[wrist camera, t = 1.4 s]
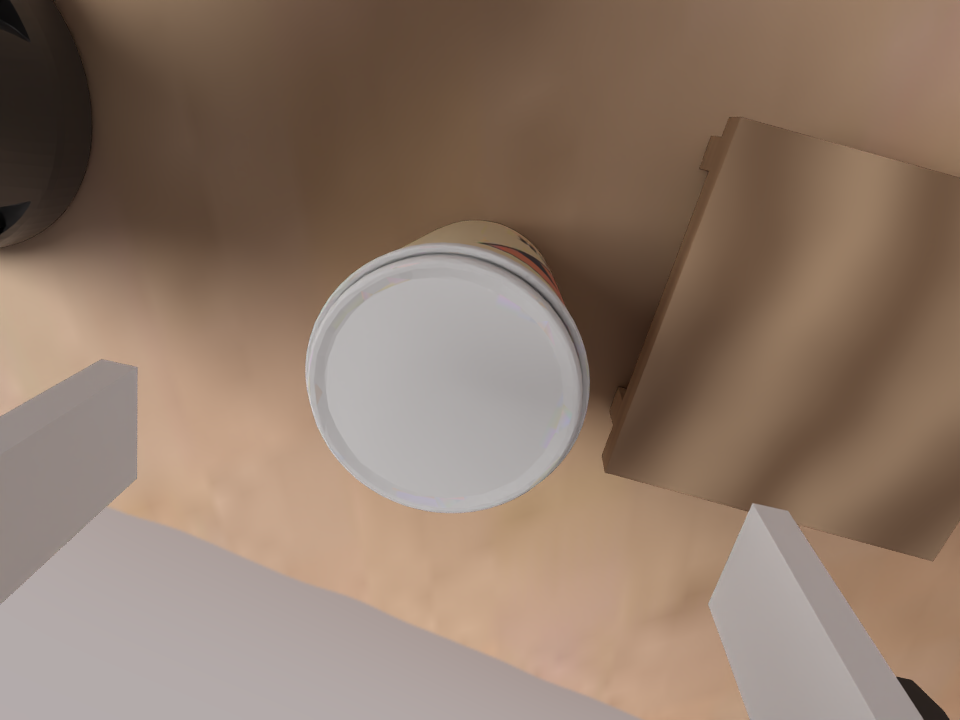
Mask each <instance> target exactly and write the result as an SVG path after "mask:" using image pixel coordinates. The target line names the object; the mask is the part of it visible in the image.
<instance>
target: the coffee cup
mask: <svg viewBox="0 0 960 720" xmlns="http://www.w3.org/2000/svg"><path fill="white" fill-rule="evenodd" d="M306 385H307V392H308V397H309V401H310V405H311V408H312V412H313V415H314V418H315V421H316V425H317V427H318V429H319V431H320V433H321V435H322V437H323V439H324V441H325V442H326V444H327V446H328V447H329V449H330V450H331V452H332V453H333V454H334V456H335V457H336V458H337V460H338V461H339V462H340V463H341V464H342V465H343V466H344V467H345V468H346V470H347V471H348V472H350V473H351V474H352V475H353V476H354V477H355V478H356V479H357V480H359V481H360V482H361V483H363V484H364V485H365V486H367V487H368V488H370V489H371V490H373V491H375V492H376V493H378V494H380V495H381V496H383V497H386V498H388V499H390V500H392V501H394V502H397V503H399V504H402V505H405V506H408V507H412V508H415V509H419V510H424V511H430V512H439V513H465V512H474V511H479V510H484V509H489V508H492V507H495V506H498V505H502V504H504V503H506V502H509V501H511V500H513V499H515V498H517V497H519V496H521V495H523V494H524V493H526V492H528V491H529V490H530V489H532V488H533V487H534V486H536V485H537V484H538V483H540V482H541V481H543V480H544V479H545V478H546V477H547V476H548V475H549V474H551V473H552V472H553V471H554V470H555V469H556V468H557V466H558V465H559V464H560V463H561V462H562V461H563V459H564V458H565V457H566V455H567V454H568V453H569V451H570V450H571V448H572V446H573V445H574V443H575V441H576V439H577V437H578V435H579V433H580V430H581V428H582V425H583V422H584V419H585V415H586V412H587V406H588V400H589V388H590V377H589V365H588V360H587V355H586V350H585V347H584V344H583V341H582V338H581V335H580V333H579V331H578V329H577V326H576V324H575V322H574V320H573V319H572V317H571V315H570V314H569V312H568V310H567V308H566V306H565V304H564V301H563V299H562V297H561V294H560V292H559V290H558V287H557V285H556V282H555V280H554V278H553V275H552V273H551V271H550V269H549V267H548V265H547V263H546V261H545V260H544V258H543V256H542V255H541V254H540V252H539V251H538V250H537V249H536V247H535V246H534V245H533V244H532V243H531V242H530V241H529V240H527V239H526V238H525V237H524V236H522V235H521V234H519V233H518V232H516V231H514V230H512V229H510V228H508V227H506V226H504V225H501V224H498V223H494V222H490V221H482V220H470V221H461V222H457V223H453V224H449V225H447V226H444V227H441V228H439V229H437V230H435V231H433V232H431V233H429V234H427V235H425V236H423V237H421V238H419V239H417V240H415V241H413V242H412V243H410V244H408V245H406V246H404V247H402V248H401V249H398V250H395V251H392V252H390V253H387V254H385V255H382V256H380V257H378V258H376V259H374V260H372V261H370V262H369V263H367V264H365V265H363V266H362V267H361V268H359V269H358V270H356V271H355V272H354V273H352V274H351V275H350V276H349V277H348V278H347V279H346V280H344V281H343V282H342V283H341V284H340V285H339V286H338V288H337V289H336V290H335V291H334V292H333V294H332V295H331V296H330V298H329V299H328V301H327V302H326V304H325V305H324V307H323V308H322V310H321V312H320V314H319V316H318V318H317V320H316V322H315V324H314V327H313V330H312V333H311V335H310V339H309V344H308V348H307V355H306Z"/></svg>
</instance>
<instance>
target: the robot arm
mask: <svg viewBox="0 0 960 720" xmlns="http://www.w3.org/2000/svg"><path fill="white" fill-rule="evenodd" d="M91 135H92V115H91V103H90V96H89V90H88V85H87V80H86V76H85V73H84V69H83V65H82V62H81V59H80V56H79V53H78V50H77V48H76V46H75V43H74V41H73V38H72V36H71V34H70V32H69V30H68V27H67V25H66V23H65V22H64V20H63V18H62V16H61V14H60V12H59V11H58V9H57V7H56V6H55V4H54V3H53V1H52V0H0V247H4V246H9V245H13V244H16V243H19V242H22V241H25V240H27V239H29V238H31V237H33V236H35V235H37V234H38V233H40V232H42V231H43V230H45V229H46V228H47V227H49V226H50V225H51V224H52V223H53V222H54V221H56V220H57V219H58V218H59V217H60V215H61V214H62V213H63V212H64V211H65V210H66V208H67V207H68V206H69V204H70V203H71V201H72V200H73V198H74V196H75V195H76V193H77V191H78V189H79V187H80V184H81V182H82V179H83V177H84V174H85V170H86V167H87V163H88V159H89V154H90V147H91ZM136 479H137V367H135V366H130V365H126V364H121V363H117V362H112V361H108V360H103V359H101V360H99V361H97V362H95V363H94V364H92V365H90V366H88V367H87V368H85V369H83V370H81V371H80V372H78V373H76V374H74V375H73V376H71V377H69V378H67V379H65V380H64V381H62V382H60V383H58V384H57V385H55V386H53V387H51V388H50V389H48V390H46V391H44V392H43V393H41V394H39V395H37V396H36V397H34V398H32V399H30V400H29V401H27V402H25V403H23V404H22V405H20V406H18V407H16V408H15V409H13V410H11V411H9V412H7V413H6V414H4V415H2V416H0V604H1V603H2V602H3V601H5V600H6V599H7V598H8V597H9V596H10V595H11V594H12V593H13V592H14V591H15V590H16V589H18V588H19V587H20V586H21V585H22V584H23V583H24V582H25V581H26V580H27V579H28V578H29V577H31V576H32V575H33V574H34V573H35V572H36V571H37V570H38V569H39V568H40V567H41V566H42V565H44V563H46V562H47V561H48V560H49V559H50V558H51V557H52V556H53V555H54V554H55V553H56V552H58V551H59V550H60V549H61V548H62V547H63V546H64V545H65V544H66V543H67V542H68V541H70V540H71V539H72V538H73V537H74V536H75V535H76V534H77V533H78V532H79V531H80V530H81V529H83V528H84V527H85V526H86V525H87V524H88V523H89V522H90V521H91V520H92V519H93V518H94V517H96V516H97V515H98V514H99V513H100V512H101V511H102V510H103V509H104V508H105V507H106V506H107V505H109V504H110V503H111V502H112V501H113V500H114V499H115V498H116V497H117V496H118V495H119V494H120V493H122V492H123V491H124V490H125V489H126V488H127V487H128V486H129V485H130V484H131V483H132V482H133V481H135V480H136ZM708 605H709V608H710V610H711V613H712V616H713V619H714V622H715V624H716V627H717V630H718V633H719V635H720V638H721V641H722V644H723V646H724V649H725V652H726V655H727V657H728V660H729V663H730V666H731V668H732V671H733V674H734V677H735V680H736V682H737V685H738V688H739V691H740V693H741V696H742V699H743V702H744V704H745V707H746V710H747V713H748V715H749V718H750V720H950V719H949V718H948V716H947V715H946V714H945V712H944V711H943V710H942V709H941V708H940V707H939V706H938V705H937V704H936V703H935V702H934V701H933V700H932V699H931V698H930V697H929V696H928V695H927V694H926V693H925V692H924V691H923V690H922V689H921V688H920V687H919V686H918V685H917V684H915V683H914V682H913V681H912V680H909V679H905V678H900V677H896V676H895V675H894V673H893V672H892V670H891V669H890V667H889V666H888V664H887V662H886V661H885V659H884V658H883V656H882V655H881V653H880V652H879V650H878V649H877V647H876V645H875V644H874V642H873V641H872V639H871V638H870V636H869V635H868V633H867V632H866V630H865V629H864V627H863V625H862V624H861V622H860V621H859V619H858V618H857V616H856V615H855V613H854V612H853V610H852V608H851V607H850V605H849V604H848V602H847V601H846V599H845V598H844V596H843V595H842V593H841V592H840V590H839V588H838V587H837V585H836V584H835V582H834V581H833V579H832V578H831V576H830V575H829V573H828V572H827V570H826V568H825V567H824V565H823V564H822V562H821V561H820V559H819V558H818V556H817V555H816V553H815V551H814V550H813V548H812V547H811V545H810V544H809V542H808V541H807V539H806V538H805V536H804V535H803V533H802V531H801V530H800V528H799V527H798V525H797V524H796V522H795V521H794V519H793V518H792V516H791V514H790V513H789V511H786V510H782V509H777V508H773V507H768V506H764V505H759V504H754V503H752V505H751V508H750V510H749V512H748V515H747V517H746V519H745V521H744V524H743V526H742V528H741V530H740V533H739V535H738V537H737V540H736V542H735V544H734V546H733V549H732V551H731V553H730V556H729V558H728V560H727V562H726V565H725V567H724V569H723V571H722V574H721V576H720V578H719V581H718V583H717V585H716V587H715V590H714V592H713V594H712V597H711V599H710V601H709V603H708Z"/></svg>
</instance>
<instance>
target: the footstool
mask: <svg viewBox="0 0 960 720" xmlns="http://www.w3.org/2000/svg"><path fill="white" fill-rule="evenodd" d="M700 169H704V170H707V171H709V172H708V175H707V177H706V180H705V183H704V185H703V188H702V191H701V193H700V196H699V199H698V201H697V204H696V207H695V209H694V212H693V215H692V217H691V220H690V223H689V225H688V228H687V231H686V233H685V236H684V239H683V241H682V244H681V247H680V249H679V252H678V254H677V257H676V260H675V262H674V265H673V268H672V270H671V273H670V276H669V278H668V281H667V284H666V286H665V289H664V292H663V294H662V297H661V300H660V302H659V305H658V308H657V310H656V313H655V316H654V318H653V321H652V324H651V326H650V329H649V331H648V334H647V337H646V339H645V342H644V345H643V347H642V350H641V353H640V355H639V358H638V361H637V363H636V366H635V369H634V371H633V374H632V377H631V379H630V382H629V385H628V387H627V389H625V388H621V387H618V389H617V392H616V394H615V397H614V400H613V402H612V405H611V408H610V415H611V419H612V423H613V427H612V430H611V432H610V435H609V438H608V440H607V443H606V446H605V448H604V451H603V454H602V460H603V465H604V470H605V473H609V474H613V475H616V476H620V477H624V478H627V479H631V480H635V481H638V482H642V483H646V484H649V485H653V486H657V487H660V488H664V489H668V490H671V491H675V492H679V493H683V494H686V495H690V496H694V497H697V498H701V499H705V500H708V501H712V502H716V503H719V504H723V505H727V506H730V507H734V508H738V509H741V510H745V511H749V510H750V508H751V505H752V503H754V504H759V505H764V506H768V507H773V508H777V509H782V510H786V511H789V513H790V514H791V516H792V518H793V519H794V521H795V522H796V524H797V525H800V526H804V527H808V528H811V529H815V530H819V531H823V532H826V533H830V534H834V535H837V536H841V537H845V538H848V539H852V540H856V541H859V542H863V543H867V544H870V545H874V546H878V547H881V548H885V549H889V550H892V551H896V552H900V553H904V554H907V555H911V556H915V557H918V558H922V559H926V560H929V561H934V559H935V558H936V556H937V555H938V553H939V552H940V550H941V549H942V547H943V545H944V544H945V542H946V541H947V539H948V538H949V536H950V535H951V533H952V532H953V530H954V528H955V527H956V525H957V524H958V522H959V521H960V178H959V177H955V176H952V175H948V174H945V173H941V172H937V171H934V170H930V169H927V168H923V167H919V166H916V165H912V164H909V163H905V162H901V161H898V160H894V159H891V158H887V157H883V156H880V155H876V154H873V153H869V152H865V151H862V150H858V149H855V148H851V147H847V146H844V145H840V144H837V143H833V142H829V141H826V140H822V139H819V138H815V137H811V136H808V135H804V134H801V133H797V132H793V131H790V130H786V129H783V128H779V127H775V126H772V125H768V124H765V123H761V122H757V121H754V120H750V119H747V118H743V117H729V119H728V122H727V124H726V127H725V130H724V132H723V135H722V137H718V136H711V138H710V141H709V143H708V146H707V149H706V151H705V154H704V157H703V159H702V162H701V165H700Z"/></svg>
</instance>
